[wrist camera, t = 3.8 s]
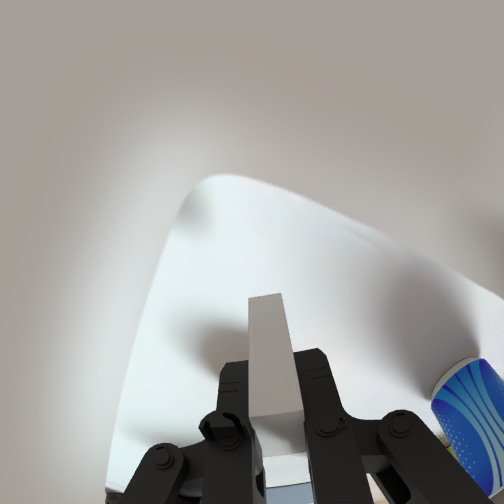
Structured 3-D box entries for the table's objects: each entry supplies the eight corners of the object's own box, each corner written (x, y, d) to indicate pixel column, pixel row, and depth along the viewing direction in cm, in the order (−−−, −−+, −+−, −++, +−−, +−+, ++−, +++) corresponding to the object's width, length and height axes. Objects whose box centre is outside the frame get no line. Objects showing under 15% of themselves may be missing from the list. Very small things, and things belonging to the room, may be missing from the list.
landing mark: (267, 508, 35) (267, 508, 35) (255, 489, 31) (255, 490, 31) (336, 497, 35) (336, 497, 34) (341, 475, 30) (341, 476, 30)
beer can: (418, 389, 23) (476, 506, 8) (477, 339, 21) (555, 439, 6) (434, 412, 25) (480, 504, 11) (484, 370, 24) (542, 453, 9)
